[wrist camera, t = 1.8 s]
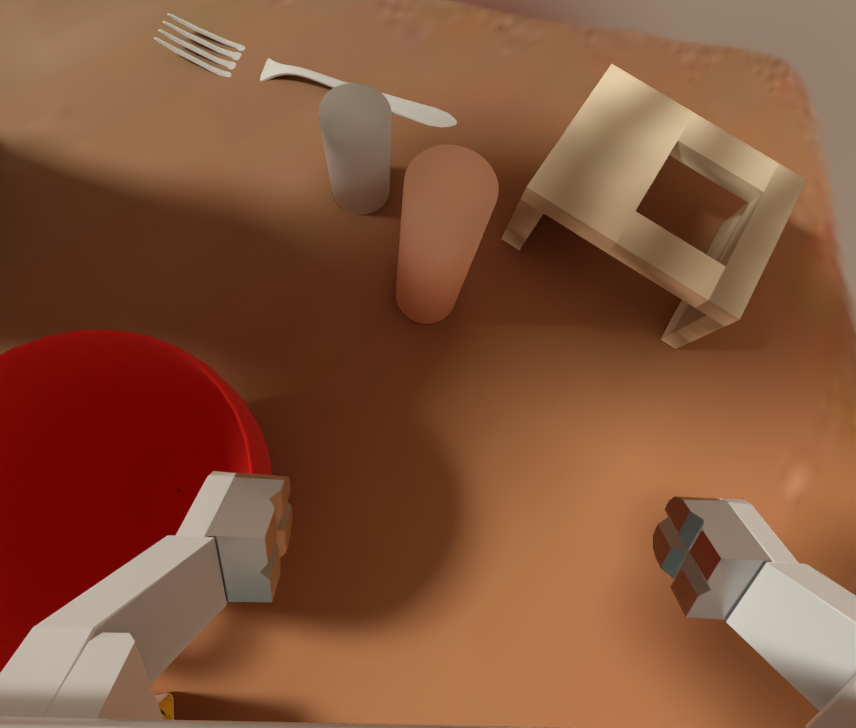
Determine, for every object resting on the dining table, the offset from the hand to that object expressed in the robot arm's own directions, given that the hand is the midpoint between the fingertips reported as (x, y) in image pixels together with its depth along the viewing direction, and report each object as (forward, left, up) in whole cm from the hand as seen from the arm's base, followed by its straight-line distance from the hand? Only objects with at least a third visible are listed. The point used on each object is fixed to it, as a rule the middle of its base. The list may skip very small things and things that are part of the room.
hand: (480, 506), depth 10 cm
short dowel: (-14, +15, -19) cm, 28 cm away
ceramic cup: (-11, -9, -19) cm, 24 cm away
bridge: (+3, +23, -19) cm, 30 cm away
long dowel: (-6, +11, -19) cm, 23 cm away
